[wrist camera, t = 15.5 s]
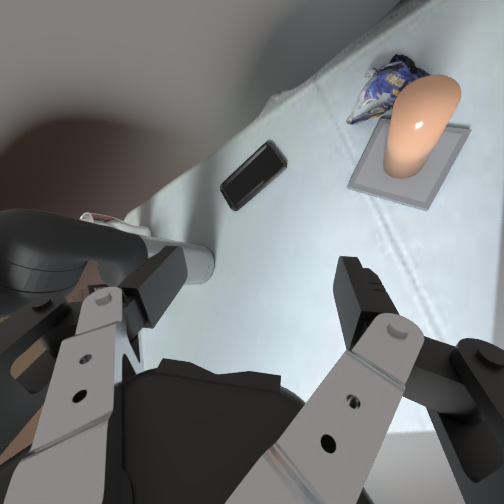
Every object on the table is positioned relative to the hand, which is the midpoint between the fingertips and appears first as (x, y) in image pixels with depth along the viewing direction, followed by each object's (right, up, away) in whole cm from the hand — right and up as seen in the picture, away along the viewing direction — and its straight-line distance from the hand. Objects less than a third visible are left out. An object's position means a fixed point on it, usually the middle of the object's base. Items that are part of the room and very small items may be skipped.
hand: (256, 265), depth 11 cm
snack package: (+23, +27, +26) cm, 44 cm away
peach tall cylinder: (+23, +15, +22) cm, 35 cm away
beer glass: (-31, +5, +51) cm, 60 cm away
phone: (0, +17, +36) cm, 40 cm away
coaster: (+24, +15, +23) cm, 36 cm away
